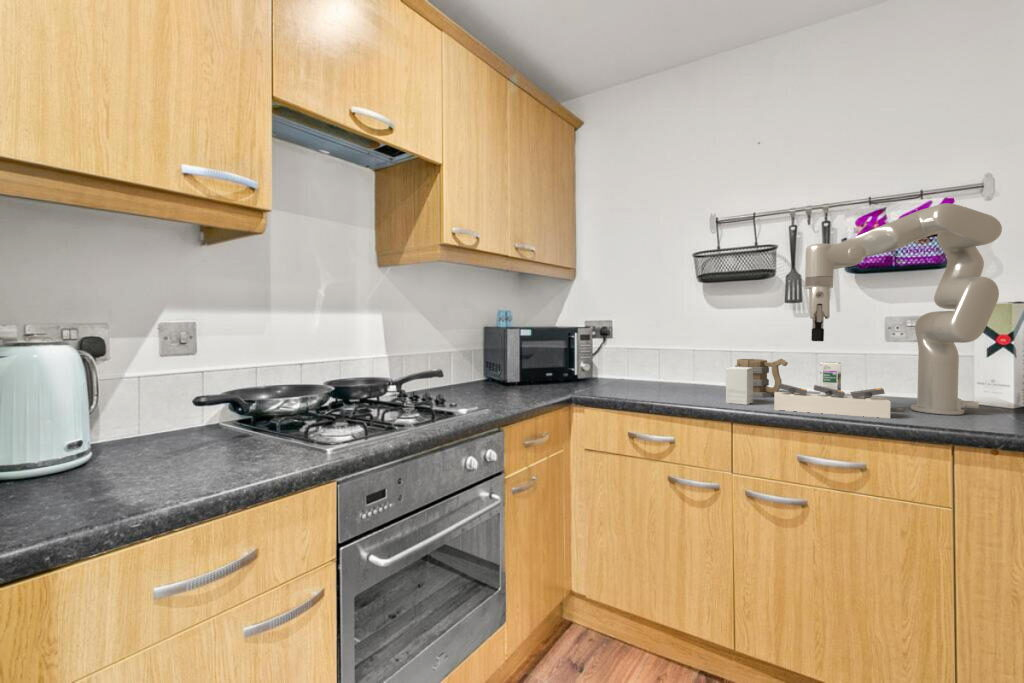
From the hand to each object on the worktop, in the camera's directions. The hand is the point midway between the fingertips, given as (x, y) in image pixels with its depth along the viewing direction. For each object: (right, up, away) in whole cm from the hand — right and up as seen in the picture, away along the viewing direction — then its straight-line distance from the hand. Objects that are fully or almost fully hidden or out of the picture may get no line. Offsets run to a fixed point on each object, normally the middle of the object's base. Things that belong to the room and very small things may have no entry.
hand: (817, 341), depth 153 cm
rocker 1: (-6, -16, +4) cm, 18 cm away
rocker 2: (+3, -16, -1) cm, 16 cm away
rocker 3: (+12, -16, -6) cm, 21 cm away
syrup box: (+14, -22, +16) cm, 31 cm away
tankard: (-1, -22, +33) cm, 40 cm away
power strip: (+5, -23, -2) cm, 23 cm away
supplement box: (-16, -22, +18) cm, 33 cm away
